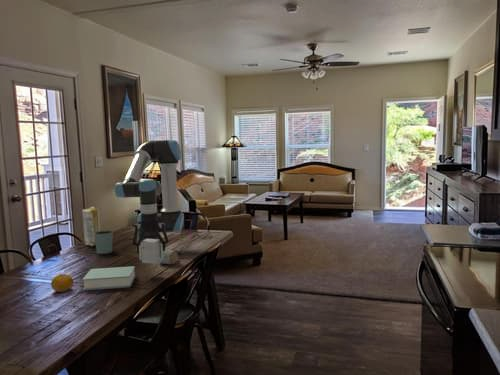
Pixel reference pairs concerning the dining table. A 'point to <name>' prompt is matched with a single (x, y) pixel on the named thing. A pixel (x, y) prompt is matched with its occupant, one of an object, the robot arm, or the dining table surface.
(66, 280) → the fruit
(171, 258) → the ceramic mug
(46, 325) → the dining table surface
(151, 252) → the small box
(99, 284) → the book
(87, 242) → the juice carton
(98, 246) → the teal cup
